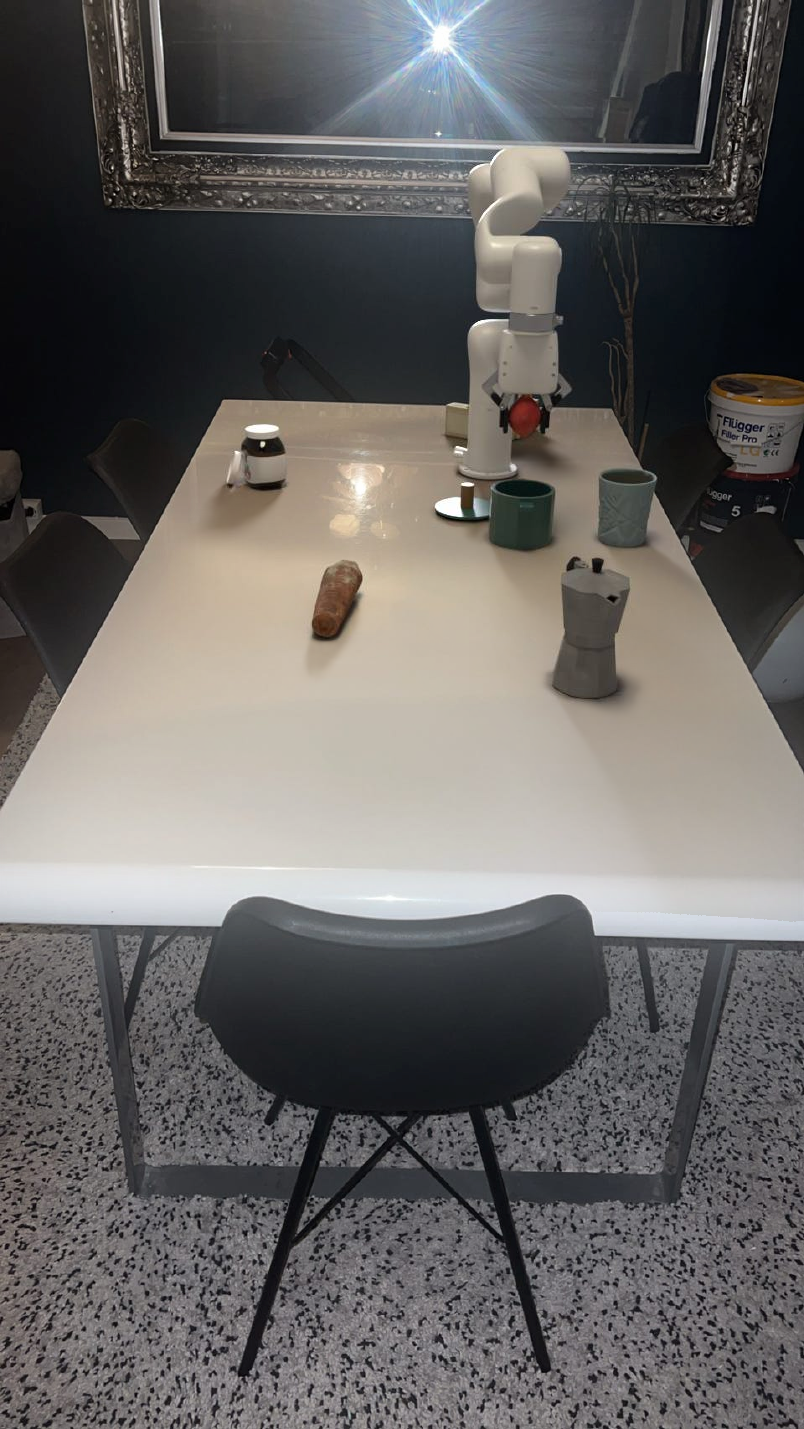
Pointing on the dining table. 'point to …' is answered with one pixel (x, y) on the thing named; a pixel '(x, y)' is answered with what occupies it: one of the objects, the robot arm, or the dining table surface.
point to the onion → (524, 415)
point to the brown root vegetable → (335, 596)
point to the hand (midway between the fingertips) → (523, 431)
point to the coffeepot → (589, 628)
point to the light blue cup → (624, 505)
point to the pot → (521, 513)
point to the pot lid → (464, 505)
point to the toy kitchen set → (463, 420)
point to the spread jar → (260, 458)
